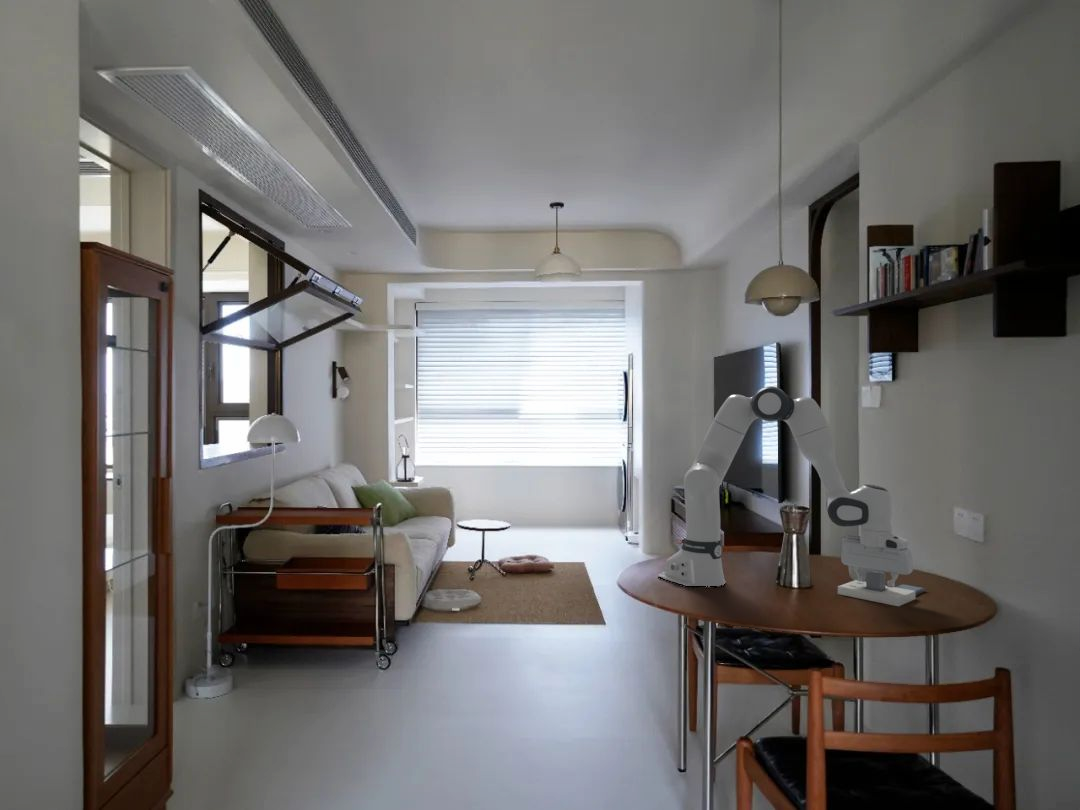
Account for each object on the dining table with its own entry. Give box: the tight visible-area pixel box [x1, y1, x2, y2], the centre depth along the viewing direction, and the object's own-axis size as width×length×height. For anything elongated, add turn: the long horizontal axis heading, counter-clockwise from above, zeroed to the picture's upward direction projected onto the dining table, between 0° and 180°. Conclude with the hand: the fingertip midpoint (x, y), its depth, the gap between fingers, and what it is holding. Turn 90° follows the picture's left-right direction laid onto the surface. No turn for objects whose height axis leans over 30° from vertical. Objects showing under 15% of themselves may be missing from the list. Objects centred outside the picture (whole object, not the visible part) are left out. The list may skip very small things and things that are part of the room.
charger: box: [866, 571, 886, 592], centre depth 214 cm, size 4×4×7 cm
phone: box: [895, 583, 926, 597], centre depth 219 cm, size 7×11×1 cm, turn 131°
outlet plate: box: [837, 580, 916, 607], centre depth 214 cm, size 18×12×2 cm, turn 41°
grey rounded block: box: [848, 565, 885, 582], centre depth 233 cm, size 14×11×8 cm
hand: (875, 584), depth 214 cm, fingers open, 7 cm apart
